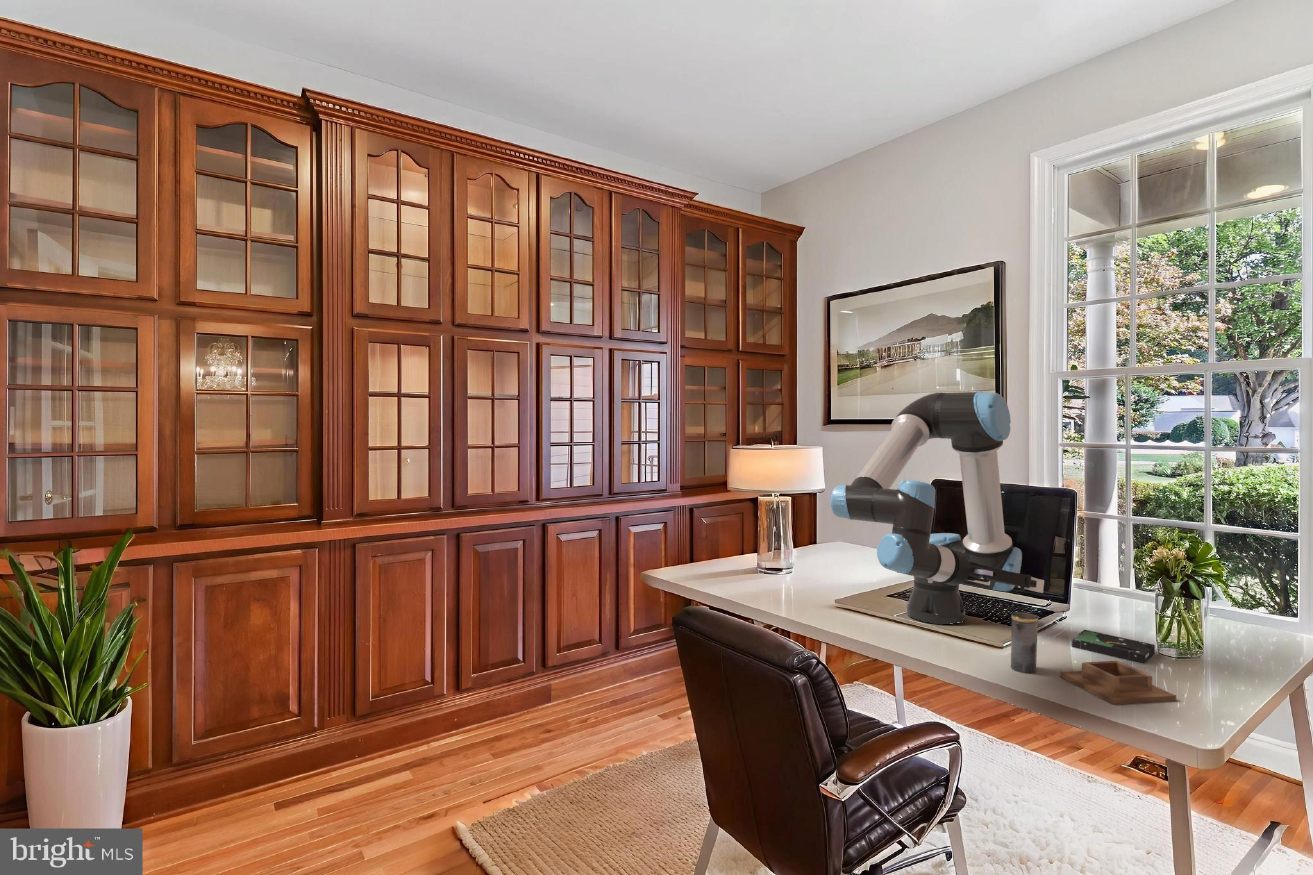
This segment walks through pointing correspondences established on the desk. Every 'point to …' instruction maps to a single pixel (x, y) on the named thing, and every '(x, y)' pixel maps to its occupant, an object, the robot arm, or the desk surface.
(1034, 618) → the grey post
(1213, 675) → the desk surface
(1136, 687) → the socket base
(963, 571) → the robot arm
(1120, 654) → the disk drive
